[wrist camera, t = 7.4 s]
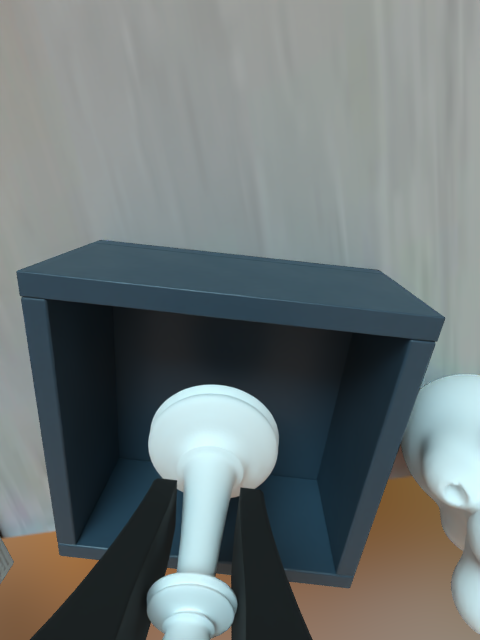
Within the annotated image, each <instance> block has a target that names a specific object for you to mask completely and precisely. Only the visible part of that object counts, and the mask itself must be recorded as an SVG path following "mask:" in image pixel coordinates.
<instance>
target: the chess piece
mask: <svg viewBox="0 0 480 640" xmlns="http://www.w3.org/2000/svg"><path fill="white" fill-rule="evenodd" d="M278 445H279V433H278V428H277V425H276V422H275V420H274V418H273V416H272V414H271V413H270V412H269V410H268V409H267V408H266V407H265V406H264V405H263V404H262V403H261V402H260V401H259V400H257V399H256V398H255V397H253V396H252V395H250V394H248V393H246V392H244V391H242V390H239V389H236V388H233V387H229V386H223V385H200V386H194V387H190V388H187V389H184V390H182V391H180V392H178V393H176V394H174V395H173V396H171V397H170V398H168V399H167V400H166V401H165V402H164V403H163V404H162V405H161V406H160V407H159V409H158V410H157V412H156V413H155V415H154V418H153V420H152V423H151V428H150V434H149V440H148V449H149V455H150V458H151V461H152V463H153V466H154V467H155V469H156V471H157V472H158V473H159V474H160V476H161V477H162V478H163V479H170V480H177V489H178V490H180V491H181V492H183V507H182V523H181V536H180V546H179V555H178V565H177V573H174V574H170V575H167V576H164V577H162V578H160V579H159V580H157V581H156V582H155V583H154V584H153V585H152V586H151V587H150V589H149V591H148V593H147V615H148V618H149V620H150V621H151V623H152V624H153V625H154V626H155V627H156V628H157V629H158V630H160V631H161V632H163V633H164V634H165V636H164V638H163V639H162V640H210V639H211V638H214V637H216V636H218V635H220V634H222V633H224V632H225V631H227V630H228V629H229V628H230V626H231V625H232V623H233V621H234V616H235V613H236V611H237V606H238V602H237V598H236V595H235V593H234V592H233V590H232V589H231V588H230V587H229V586H228V585H227V584H226V583H225V582H223V581H221V580H220V579H218V578H216V577H215V574H216V570H217V564H218V559H219V553H220V547H221V541H222V537H223V532H224V526H225V522H226V517H227V512H228V507H229V502H230V498H233V497H237V496H239V495H240V487H242V488H251V489H255V488H257V487H258V486H259V485H260V484H262V483H263V482H264V481H265V480H266V479H267V478H268V476H269V475H270V474H271V472H272V470H273V468H274V466H275V464H276V460H277V456H278Z"/></svg>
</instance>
